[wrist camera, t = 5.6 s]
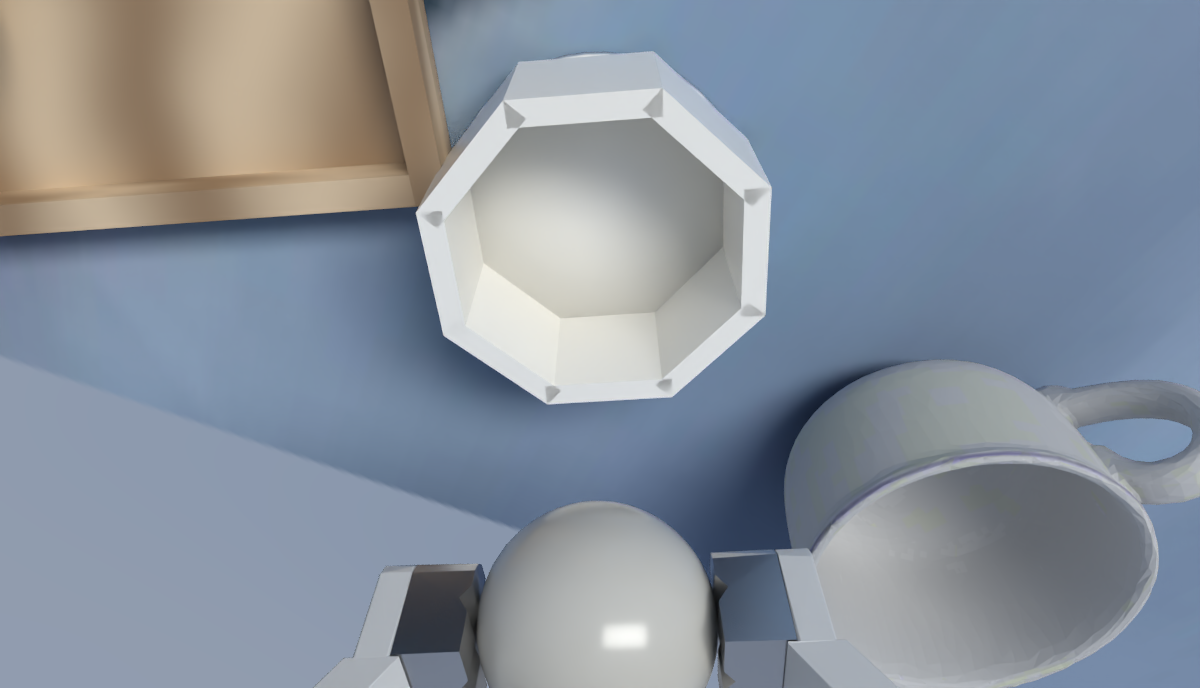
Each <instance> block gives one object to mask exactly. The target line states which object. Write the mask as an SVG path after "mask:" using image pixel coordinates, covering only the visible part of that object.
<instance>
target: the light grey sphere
mask: <svg viewBox="0 0 1200 688" xmlns="http://www.w3.org/2000/svg"><path fill="white" fill-rule="evenodd" d="M718 635H719V634H718V614H717V606H716V603H715V599H714V594H713V590H712V586H711V583H710V581H709V578H708V576H707V573H706V571H705V569H704V567H703V566H702V564H701V562H700V560H699V559H698V557H697V555H696V554H695V552H694V551H693V550H692V548H691V547H690V546H689V545H688V543H687V542H686V541H685V540H684V539H683V538H682V537H681V536H680V535H679V534H678V533H677V532H676V531H675V530H674V529H673V528H671V527H670V526H669V525H667V524H666V523H665V522H663V521H662V520H661V519H659V518H658V517H656V516H654V515H652V514H650V513H648V512H646V511H644V510H641V509H639V508H636V507H634V506H630V505H627V504H623V503H618V502H612V501H583V502H577V503H572V504H569V505H565V506H562V507H559V508H556V509H554V510H552V511H549V512H547V513H545V514H543V515H541V516H540V517H538V518H536V519H535V520H533V521H532V522H531V523H529V524H528V525H527V526H525V527H524V528H523V529H521V530H520V531H519V532H518V533H517V534H516V535H515V536H514V537H513V538H512V539H511V540H510V542H509V543H508V544H507V545H506V546H505V547H504V549H503V550H502V552H501V553H500V555H499V556H498V558H497V559H496V561H495V562H494V564H493V566H492V568H491V570H490V572H489V575H488V577H487V579H486V581H485V584H484V587H483V591H482V595H481V599H480V603H479V606H478V616H477V646H478V652H479V657H480V662H481V667H482V670H483V673H484V675H485V678H486V680H487V683H488V686H489V688H706V686H707V684H708V681H709V679H710V676H711V673H712V670H713V667H714V663H715V659H716V654H717V645H718Z"/></svg>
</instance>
